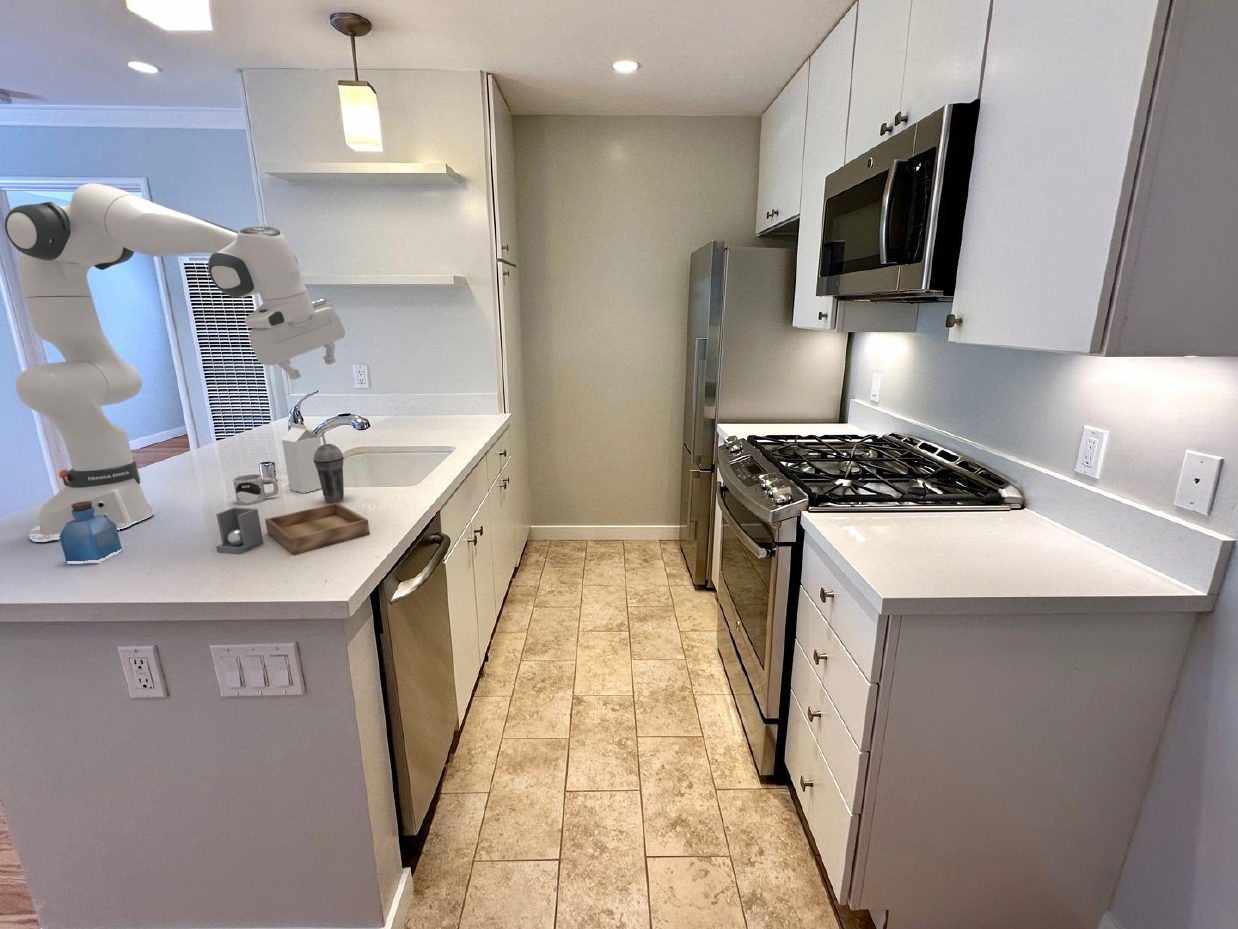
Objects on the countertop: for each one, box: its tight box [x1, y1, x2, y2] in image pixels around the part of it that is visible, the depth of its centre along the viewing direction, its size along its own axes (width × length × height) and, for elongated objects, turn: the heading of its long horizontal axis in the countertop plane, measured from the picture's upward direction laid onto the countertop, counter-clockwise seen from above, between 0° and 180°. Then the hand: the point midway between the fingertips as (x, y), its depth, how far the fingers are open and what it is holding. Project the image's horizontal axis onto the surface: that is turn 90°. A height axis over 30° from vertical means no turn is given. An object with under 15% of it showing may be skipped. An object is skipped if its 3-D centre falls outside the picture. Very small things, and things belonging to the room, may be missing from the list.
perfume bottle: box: [59, 501, 123, 562], centre depth 118 cm, size 6×6×12 cm
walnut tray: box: [264, 502, 371, 556], centre depth 131 cm, size 16×18×4 cm
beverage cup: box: [314, 428, 345, 504], centre depth 153 cm, size 7×7×20 cm
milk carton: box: [281, 422, 322, 494], centre depth 164 cm, size 7×7×19 cm
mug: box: [232, 473, 279, 506], centre depth 156 cm, size 10×7×7 cm, turn 114°
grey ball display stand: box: [215, 506, 264, 555], centre depth 123 cm, size 6×6×8 cm
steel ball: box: [228, 529, 243, 545], centre depth 123 cm, size 4×4×4 cm
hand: (313, 370), depth 128 cm, fingers open, 8 cm apart
